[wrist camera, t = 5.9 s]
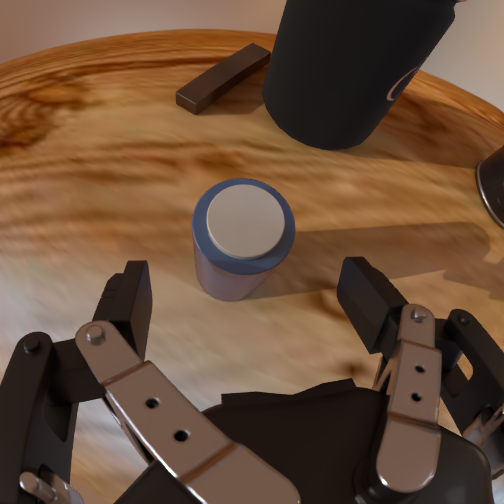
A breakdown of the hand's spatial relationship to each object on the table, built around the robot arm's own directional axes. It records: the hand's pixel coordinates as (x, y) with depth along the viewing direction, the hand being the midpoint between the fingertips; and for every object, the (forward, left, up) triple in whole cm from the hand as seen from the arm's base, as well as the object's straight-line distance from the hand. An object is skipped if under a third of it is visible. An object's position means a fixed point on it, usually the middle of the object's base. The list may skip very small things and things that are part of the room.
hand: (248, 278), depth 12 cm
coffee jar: (-19, -5, -8) cm, 21 cm away
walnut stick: (-16, -13, -8) cm, 22 cm away
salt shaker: (-2, -2, -8) cm, 8 cm away
